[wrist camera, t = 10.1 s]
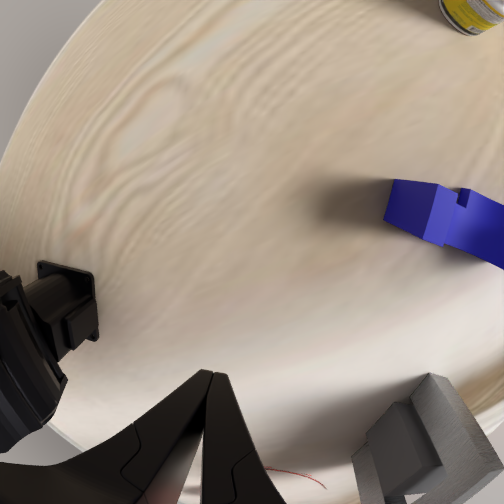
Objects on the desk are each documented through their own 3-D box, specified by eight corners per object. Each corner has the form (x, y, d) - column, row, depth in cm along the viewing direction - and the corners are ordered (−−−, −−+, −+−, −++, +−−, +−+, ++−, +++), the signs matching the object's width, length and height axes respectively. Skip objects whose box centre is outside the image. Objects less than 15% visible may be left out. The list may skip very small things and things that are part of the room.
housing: (351, 456, 25) (369, 549, 13) (429, 372, 22) (489, 472, 9) (370, 458, 26) (391, 545, 13) (447, 377, 22) (505, 468, 10)
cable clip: (503, 212, 18) (549, 226, 12) (489, 260, 19) (531, 284, 13) (398, 158, 18) (444, 157, 12) (382, 219, 19) (422, 239, 13)
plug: (365, 433, 24) (383, 497, 16) (394, 401, 23) (423, 467, 15) (434, 440, 25) (456, 488, 17) (460, 412, 24) (489, 460, 15)
